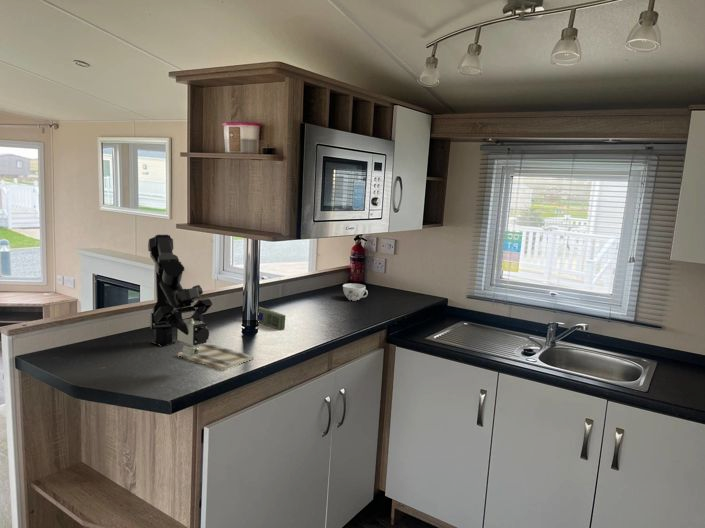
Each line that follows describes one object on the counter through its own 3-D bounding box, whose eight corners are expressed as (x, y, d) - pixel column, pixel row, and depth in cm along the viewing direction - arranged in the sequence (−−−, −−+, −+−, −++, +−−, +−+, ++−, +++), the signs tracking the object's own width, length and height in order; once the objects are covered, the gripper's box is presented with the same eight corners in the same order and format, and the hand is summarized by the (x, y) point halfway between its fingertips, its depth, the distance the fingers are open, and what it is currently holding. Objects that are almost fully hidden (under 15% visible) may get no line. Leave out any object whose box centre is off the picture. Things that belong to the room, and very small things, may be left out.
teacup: (337, 299, 276) (338, 285, 275) (350, 296, 287) (351, 282, 285) (360, 304, 268) (361, 289, 267) (372, 300, 278) (373, 286, 277)
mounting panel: (177, 356, 175) (177, 350, 175) (208, 346, 187) (208, 341, 187) (224, 370, 164) (224, 364, 164) (253, 359, 176) (253, 353, 176)
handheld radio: (279, 331, 212) (244, 318, 229) (285, 330, 215) (250, 317, 231) (280, 315, 211) (245, 303, 228) (286, 314, 214) (251, 303, 231)
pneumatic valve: (196, 361, 155) (197, 322, 154) (173, 353, 162) (173, 316, 160) (211, 357, 160) (212, 320, 158) (187, 350, 166) (188, 314, 165)
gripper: (158, 281, 152) (181, 324, 147) (209, 274, 167) (231, 313, 163) (143, 302, 158) (165, 344, 153) (194, 293, 173) (214, 331, 168)
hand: (195, 332), depth 159 cm, fingers closed on pneumatic valve, 5 cm apart
